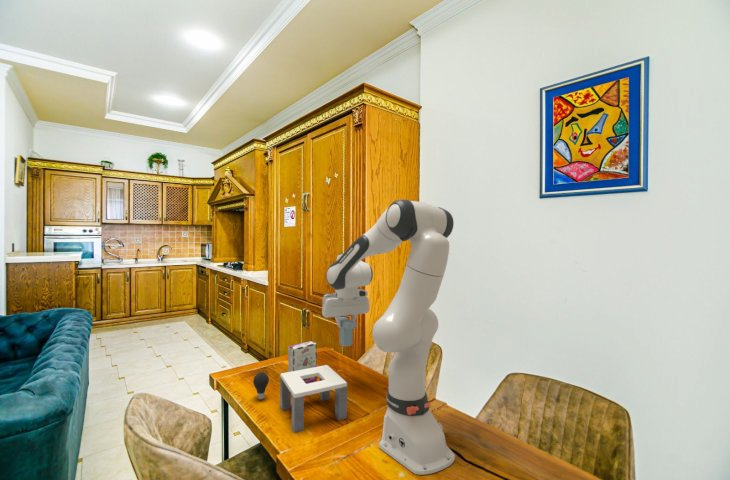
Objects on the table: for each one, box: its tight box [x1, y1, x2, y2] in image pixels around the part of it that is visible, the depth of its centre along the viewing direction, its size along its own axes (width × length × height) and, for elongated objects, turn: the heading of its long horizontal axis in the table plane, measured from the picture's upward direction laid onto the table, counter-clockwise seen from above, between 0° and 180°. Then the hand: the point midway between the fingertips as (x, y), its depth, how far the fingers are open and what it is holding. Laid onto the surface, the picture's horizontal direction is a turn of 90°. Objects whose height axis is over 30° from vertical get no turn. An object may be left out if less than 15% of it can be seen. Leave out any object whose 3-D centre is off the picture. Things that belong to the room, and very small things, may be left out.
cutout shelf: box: [279, 364, 348, 434], centre depth 114 cm, size 18×18×12 cm
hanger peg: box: [335, 316, 358, 347], centre depth 135 cm, size 12×4×10 cm, turn 28°
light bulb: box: [252, 371, 270, 401], centre depth 123 cm, size 6×6×10 cm
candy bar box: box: [287, 340, 318, 384], centre depth 137 cm, size 11×5×16 cm, turn 131°
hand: (346, 326), depth 135 cm, fingers closed on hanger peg, 4 cm apart
